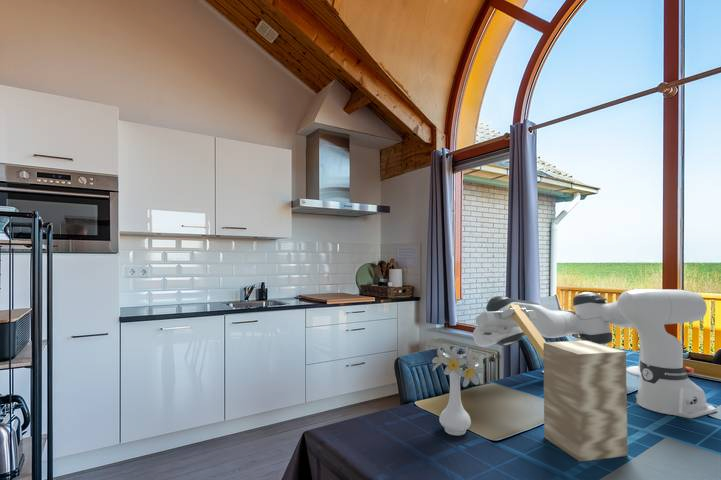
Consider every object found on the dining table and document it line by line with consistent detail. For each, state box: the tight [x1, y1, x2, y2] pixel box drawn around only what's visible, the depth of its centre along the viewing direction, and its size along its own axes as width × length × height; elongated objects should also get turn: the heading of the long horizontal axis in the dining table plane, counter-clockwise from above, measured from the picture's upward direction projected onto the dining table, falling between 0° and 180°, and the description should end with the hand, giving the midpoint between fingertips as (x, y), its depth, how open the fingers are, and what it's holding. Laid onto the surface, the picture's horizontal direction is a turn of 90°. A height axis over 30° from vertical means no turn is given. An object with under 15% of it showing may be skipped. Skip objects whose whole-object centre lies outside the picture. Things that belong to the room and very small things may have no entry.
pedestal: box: [543, 340, 629, 463], centre depth 105 cm, size 14×13×26 cm
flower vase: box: [431, 343, 485, 436], centre depth 113 cm, size 12×18×24 cm
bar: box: [509, 305, 547, 362], centre depth 126 cm, size 3×24×2 cm
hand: (518, 310), depth 133 cm, fingers open, 3 cm apart
